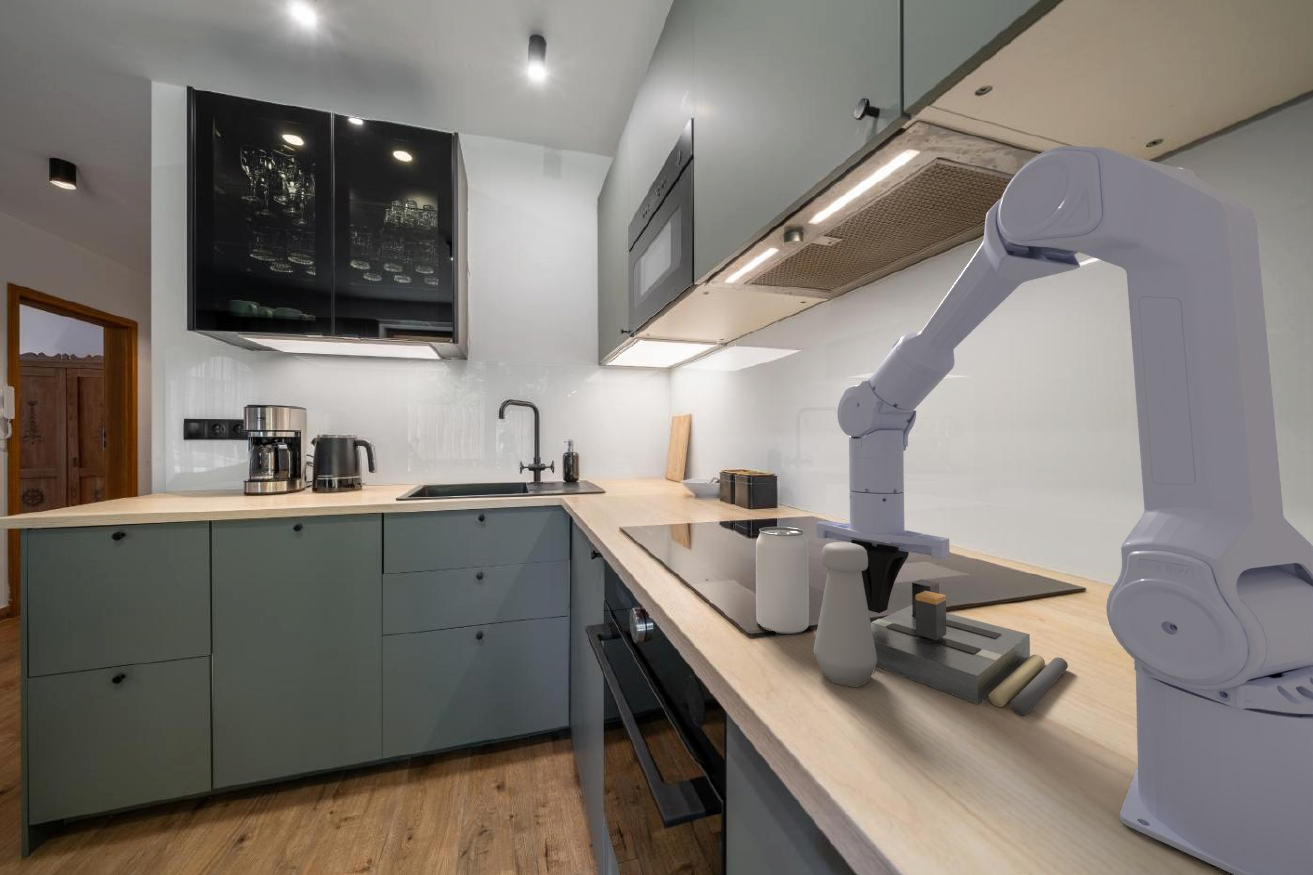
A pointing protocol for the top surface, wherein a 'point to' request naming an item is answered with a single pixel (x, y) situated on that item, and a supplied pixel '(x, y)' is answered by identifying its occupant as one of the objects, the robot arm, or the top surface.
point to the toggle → (931, 615)
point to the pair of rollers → (1033, 689)
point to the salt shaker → (845, 618)
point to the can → (782, 580)
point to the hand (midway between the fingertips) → (877, 609)
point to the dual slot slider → (949, 651)
